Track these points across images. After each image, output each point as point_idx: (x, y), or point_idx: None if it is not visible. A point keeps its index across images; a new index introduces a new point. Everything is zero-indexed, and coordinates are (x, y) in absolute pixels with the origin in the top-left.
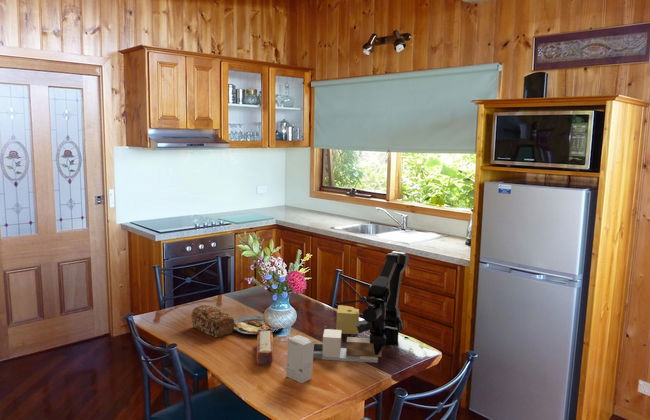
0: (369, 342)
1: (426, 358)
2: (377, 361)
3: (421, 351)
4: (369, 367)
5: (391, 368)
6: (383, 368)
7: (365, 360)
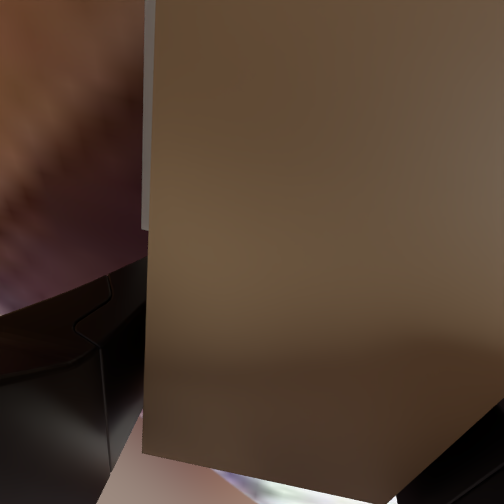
0: (194, 254)
1: (238, 485)
2: (146, 218)
3: (337, 498)
4: (5, 83)
5: (52, 294)
6: (31, 233)
7: (149, 62)
